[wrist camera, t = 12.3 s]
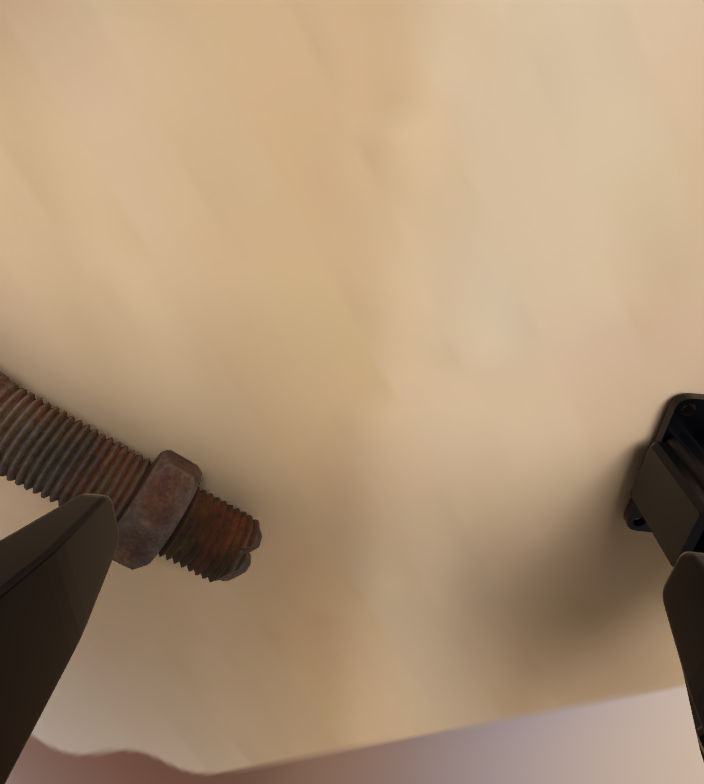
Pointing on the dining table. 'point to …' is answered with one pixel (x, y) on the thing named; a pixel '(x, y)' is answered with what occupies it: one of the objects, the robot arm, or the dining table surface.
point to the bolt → (124, 489)
